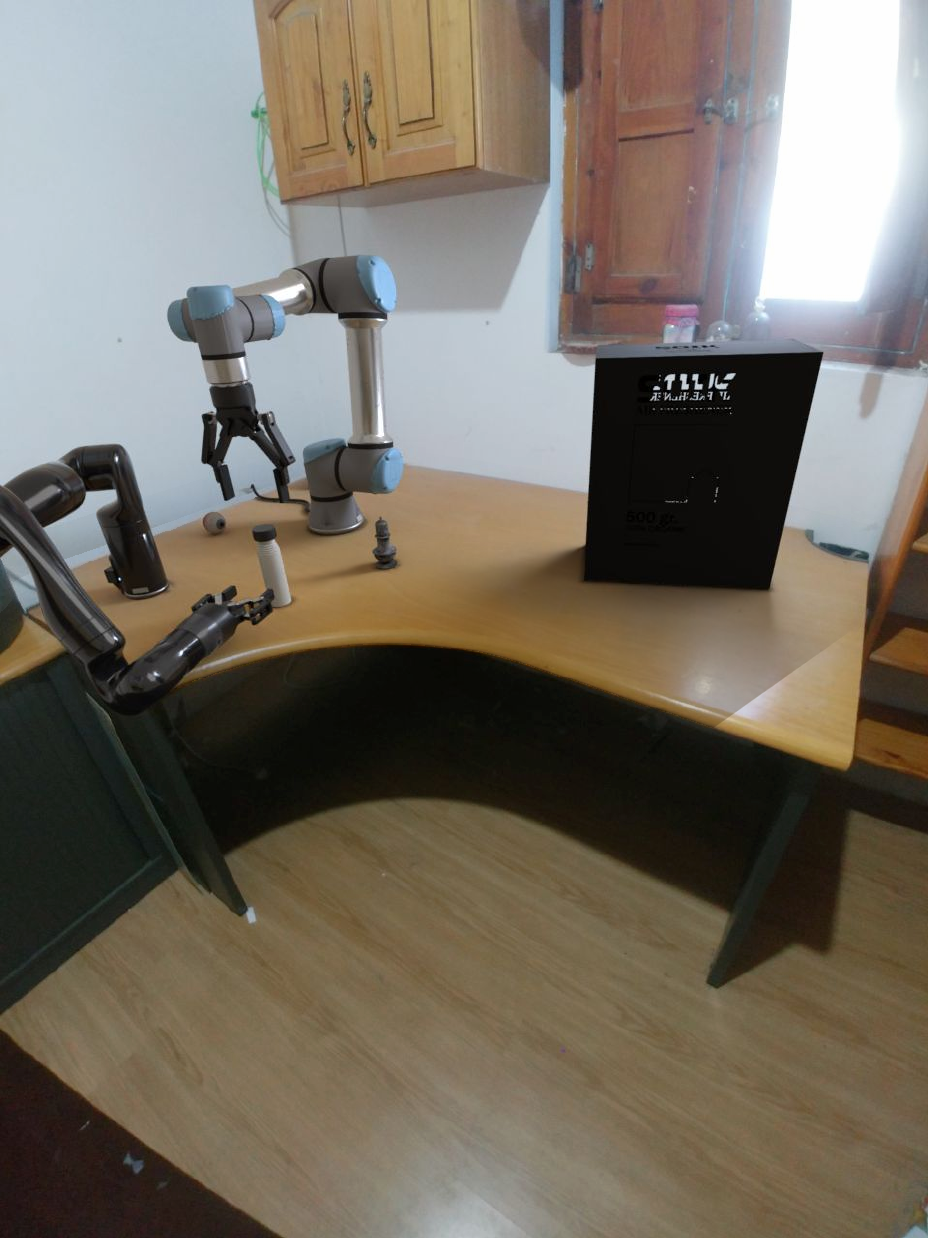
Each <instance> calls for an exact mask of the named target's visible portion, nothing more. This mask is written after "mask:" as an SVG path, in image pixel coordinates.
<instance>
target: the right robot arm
mask: <svg viewBox="0 0 928 1238" xmlns="http://www.w3.org/2000/svg"><path fill="white" fill-rule="evenodd" d="M396 303H397V287H396V281H395V278H394V275H393V272H392V270H391V269H390V266H389V265H388V264H387V262H386V261H385V260H384V259H383V258H382V257H380V256H379V255H376V254H374V255H373V254H357V255H345V256H336V257H322V258H317V259H314V260H312V261H309V262H306V263H302V264H299V265H296V266H294V267H291V268H287V269H285V270H283V271H282V272H280V274H279V276H277V277H273V278H270V279H266V280H261V281H257V282H254V283H250V284H246V285H242V286H238V287H234V288H232V287H231V286H229V285H228V284H220V285H219V284H218V285H217V284H215V285H202V286H201V285H199V286H198V285H197V286H190V287H189V288H188V289H187V290H186V297H183V298H182V299H176V300H173V301H171V302H170V304H169V305H168V307H167V311H166V319H167V323H168V326H169V329H170V331H171V332H172V333H173V335H174V336H175V337H176V338H177V339H179V340H181V341H182V342H187V343H194V344H197V347H198V349H199V353H200V357H201V362H202V368H203V371H204V375H205V379H206V380H205V381H206V382H207V383H208V384H209V385H211V386H209V388H208V391H209V395H210V398H211V403H212V406H213V408H214V409H215V412H214V411H212V410H210V411H207V412H205V413H202V414H201V421H202V424H203V434H202V444H201V445H202V446H201V457H200V461H201V463H202V464H203V465H209V466H210V467H211V468H212V471H213V474H214V477H215V481H216V483H217V484H219V487H220V490H221V493H222V497H223V501H225V502H228V501H230V500H232V499H234V498H235V497H236V494H235V490H234V485H233V482H232V477H231V473H230V470H229V466H228V464H225V462H226V461H225V458H226V456H227V454H228V450H229V448H230V445H231V444H232V440H233V438H237V437H240V438H248V439H250V441H253V442H254V443H255V444H256V445H257V446H258V448H259V449H260V450H261V452H262V453H263V454H264V455H265V456H266V457H267V458H268V459H269V461H270V463H272V464H273V466H274V467H275V468H274V469H272V472H273V473H272V474H273V477H274V478H273V479H274V482H275V488H276V492H277V497H268V496H267V497H266V496H263V495H261V494H260V493H259V492H258V491H257V489H256V486H255V484H254V483H252V484H251V485H250V489H252V492H253V494H255V496H256V497H257V498H258V499H260V500H264V501H269V502H271V501H272V502H279V504H284V503H286V502H288V503H301V504H302V503H303V504H306V505H305V511H306V512H307V513H308V528H309V529H308V530H310V531H311V532H312V533H314V534H317V535H323V536H324V535H325V536H327V535H329V536H331V535H339V534H340V535H341V534H345V533H350V532H353V531H355V530H357V529H359V528H361V527H362V526H363V525H364V523H365V519H364V514H363V512H362V510H361V508H360V505H359V504H358V501H357V500H356V498H355V495H354V493H363V494H372V495H388V494H391V493H392V492H394V491H395V490H396V489H397V487H398V486H399V484H400V482H401V479H402V476H403V472H404V458H403V456H402V452H401V451H400V449H398V448H396V447H394V439H393V437H391V436H390V435H389V434H388V430H387V407H386V389H385V370H384V369H385V367H384V348H383V332H382V331H383V328H384V327H385V326H386V324H387V323H388V322H389V321H388V313H390V312H392V311H393V310H394V309H395V307H396ZM308 314H329V315H330V314H331V315H333V314H335V315H337V321H338V323H339V324H340V325H341V326H342V327H343V328H344V331H345V342H346V343H345V344H346V345H345V346H346V357H347V371H348V386H349V399H350V412H351V413H350V414H351V426H352V427H351V428H352V429H351V430H352V434H351V436H349V438H348V439H347V441H346V439H345V438H342V437H340V438H339V437H336V438H328V439H323V440H320V441H316V442H313V443H309V444H308V445H306V446H305V447H304V448H303V450H302V457H303V459H302V460H303V467H304V472H305V477H306V482H307V486H308V492H309V498H310V501H308V500H306V499H301V498H291V495H290V492H289V486H288V485H289V484H290V483H291V477H290V473H289V469H288V467H289V466H291V465H292V464H295V463H296V460H297V459H296V457H295V456H294V455H295V454H293V451H292V450H291V448H290V446H289V444H288V442H287V441H286V439H285V437H284V435H283V433H282V432H281V430H280V428H279V426H278V424H277V422H276V421H277V420H276V416H275V413H274V412H273V411H272V410H269V411H267V412H259V411H258V409H257V406H256V404H257V399H256V394H255V390H254V385H253V383H252V382H250V380H251V378H252V377H251V373H250V368H249V367H250V366H249V362H248V358H247V353H246V352H247V351H246V348H245V344H248V343H252V342H253V343H255V342H260V341H270V340H272V339H275V338H278V337H279V336H281V335H282V334H283V333H284V330H285V328H286V324H287V321H286V320H287V318H286V316H289V315H294V316H299V317H301V316H304V315H308ZM259 423H260V424H259ZM218 424H219V425H220V426H221V430H220V432H219V434H218V437H219V438H218V441H217V431H218ZM261 426H263V428H264V429H263V428H262V427H261ZM265 433H266V434H267V435H266V434H265Z"/></svg>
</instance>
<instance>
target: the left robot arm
mask: <svg viewBox="0 0 928 1238" xmlns="http://www.w3.org/2000/svg"><path fill="white" fill-rule="evenodd" d="M104 491H115V494H116V499H114V500H113V501H111V502H109V503H106V504H104V505H102V506H101V507H100V508H98V509H97V510H96V512H95V516H96V519H97V522H98V525H99V527H100V529H101V532H102V536H103V538H104V540H105V542H106V543H105V544H106V545H107V548H108V550H109V555H108V561H109V563H110V566H109V567H107V568H105V569H104V570H103V573H104V575H105V578H106V581H107V584H113V586H114V587H116V588H117V589H118V590H120V592H121V594H122V595H123V596H124V595H125V597H126V598H127V599H131V600H143V599H149V598H152V597H155V596H158V595H160V594H162V593H164V592H166V591H167V590H168V589H169V588H170V582H169V579H168V577H167V574H166V571H165V568H164V565H163V562H162V559H161V556H160V552H159V549H158V547H157V544H156V541H155V538H154V534H153V532H152V528H151V526H150V523H149V520H148V517H147V514H146V511H145V507H144V502H143V497H142V494H141V491H140V487H139V483H138V480H137V476H136V472H135V468H134V465H133V461H132V459H131V456H130V453H129V452H128V451H127V449H126V448H125V447H124V446H123V445H122V444H120V443H102V444H89V445H81V446H77V447H75V448H72V449H71V450H69V451H68V452H67V453H65V454H64V455H62V456H61V457H60V458H58V459H57V460H51V461H48V462H45V463H42V464H39V465H36V466H34V467H32V468H29V469H26V470H23V471H22V472H20V473H19V474H18V475H15V476H14V477H13V478H11V479H10V480H9V481H7V482H6V483H5V484H3V485H1V484H0V558H2V557H4V555H6V554H7V553H8V552H9V551H11V550H12V549H13V548H14V549H15V550H16V551H17V553H18V554H19V555H20V557H22V559H23V561H24V563H25V564H26V566H27V568H28V570H29V573H30V575H31V578H32V580H33V583H34V587H35V590H36V595H37V598H38V602H39V603H38V604H39V607H40V610H41V613H42V616H43V618H44V621H45V623H46V624H47V626H48V628H49V629H50V631H51V632H52V634H53V635H54V636H55V637H56V639H57V640H59V642H60V643H61V644H62V645H63V646H64V647H65V648H66V649H67V650H68V651H69V653H70V654H71V655H72V656H74V658H76V659H77V661H79V662H80V664H81V666H82V667H83V669H84V672H85V673H86V675H87V677H88V679H89V681H90V683H91V685H92V686H93V688H94V689H95V691H96V693H97V695H98V696H99V697H100V699H101V701H102V702H103V703H104V704H105V705H106V706H107V707H108V708H109V709H111V710H113V711H114V712H115V713H116V714H119V715H122V716H127V717H132V716H134V717H135V716H138V715H140V714H143V713H144V712H146V711H147V710H148V709H150V708H151V707H152V706H154V705H155V704H156V703H158V702H160V701H161V700H162V699H163V698H164V697H166V696H167V695H168V694H169V693H170V692H171V691H172V690H173V689H175V687H176V686H177V685H178V684H179V683H180V682H181V680H183V678H184V677H185V676H186V675H188V674H190V673H191V671H194V669H195V668H197V666H199V665H200V664H201V663H202V662H203V661H205V660H206V659H208V658H209V657H210V656H212V655H213V654H214V653H215V652H217V650H219V649H220V648H221V647H222V646H223V645H224V644H225V643H226V642H228V641H229V640H230V639H231V638H232V637H233V636H234V635H235V633H236V631H237V628H238V626H239V625H240V624H242V623H245V622H247V621H248V622H250V623H251V625H252V626H258V625H259V624H260V623H261V622H262V621H264V620H265V619H266V618H267V617H268V616H269V615H271V614H272V613H273V612H274V607H272V604H271V602H272V601H273V600H274V599H275V595H274V591H273V589H267V590H266V589H265V591H263V592H262V593H261V594H260V595H259V596H258V597H255V598H252V599H251V598H249V597H248V598H245V599H242V600H239V601H234V600H233V599H234V598H235V597H237V596H238V590H237V587H236V585H233V584H231V585H229V586H228V587H227V588H224V590H222V591H221V592H217V593H215V594H212V593H206V594H205V595H203V596H202V597H201V598H200V599H199V600H197V601H196V602H195V603H194V604H193V605H191V607H190V609H191V612H192V613H191V614H190V615H188V616H187V617H186V618H185V619H183V620H182V621H181V622H180V623H179V624H178V625H177V626H176V627H175V628H174V629H173V630H172V631H170V632H169V633H168V634H167V635H166V636H164V637H162V639H160V640H159V641H158V642H157V643H156V644H155V645H154V646H153V647H152V648H151V649H149V650H147V651H146V652H144V653H143V654H142V655H140V656H139V657H137V658H135V660H133V661H132V662H131V663H129V662H128V660H127V658H126V657H125V655H124V649H125V647H126V644H127V639H126V637H125V635H124V634H123V633H122V631H121V630H120V629H119V628H118V627H117V626H116V624H114V622H113V621H112V620H111V619H110V618H109V617H108V616H107V614H106V613H105V612H103V610H102V609H101V608H100V607H99V606H98V605H97V603H96V602H94V600H93V599H92V598H91V597H90V595H89V594H88V593H87V592H86V590H85V589H84V587H82V585H81V584H80V582H79V580H78V579H77V578H76V576H75V575H74V573H73V571H72V570H71V568H70V567H69V566H68V564H67V562H66V560H65V559H64V558H63V556H62V554H61V552H60V551H59V550H58V548H57V547H56V545H55V544H54V542H53V541H52V539H51V537H50V536H49V534H48V533H47V531H46V530H45V528H46V527H49V526H50V525H52V524H54V523H56V522H58V521H61V520H63V519H65V518H67V517H68V516H69V515H71V514H73V513H74V512H76V511H77V510H78V509H80V508H81V506H82V505H84V502H85V500H86V497H87V493H91V492H92V493H93V492H104ZM246 605H247V607H248V612H247V610H246ZM255 605H256V606H255Z"/></svg>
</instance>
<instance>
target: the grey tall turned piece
mask: <svg viewBox="0 0 928 1238" xmlns="http://www.w3.org/2000/svg"><path fill="white" fill-rule="evenodd" d="M388 525H389V524H388V521H387V520H385V519H383V517H382V516H379V518H378V520H377V521H375V523H374V527H375V535H374V538H375V539H376V547H374V548H373V549H372V551H371V553H372V554H373V557H374V558H375V559H376V560H377V561H376V562H375V564H374V565H375V567H376V568H377V569H380V570H381V569H382V570H386V569H393V568H394V567H396V566H397V565H398V561H397V560H396V559H395V558H396V555H397V550H398V548H397V547H396V546H394V545H392V544H391V539H390V537H391V533H390V532H389V526H388Z"/></svg>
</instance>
